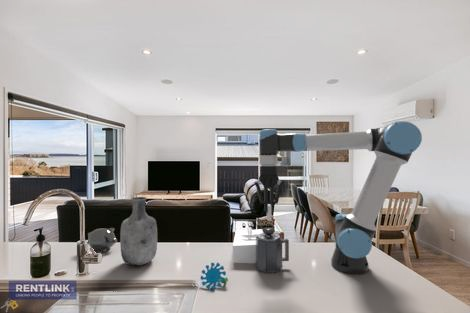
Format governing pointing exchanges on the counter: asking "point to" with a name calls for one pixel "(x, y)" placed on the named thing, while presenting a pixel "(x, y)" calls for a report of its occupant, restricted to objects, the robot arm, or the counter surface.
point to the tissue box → (245, 245)
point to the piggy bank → (102, 239)
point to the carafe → (270, 253)
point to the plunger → (268, 231)
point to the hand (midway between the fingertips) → (269, 219)
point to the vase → (138, 235)
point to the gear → (214, 276)
